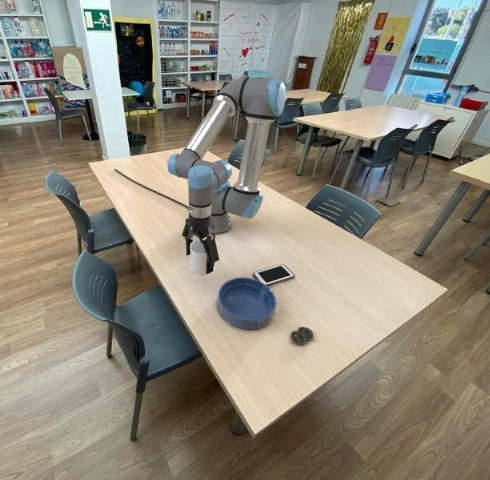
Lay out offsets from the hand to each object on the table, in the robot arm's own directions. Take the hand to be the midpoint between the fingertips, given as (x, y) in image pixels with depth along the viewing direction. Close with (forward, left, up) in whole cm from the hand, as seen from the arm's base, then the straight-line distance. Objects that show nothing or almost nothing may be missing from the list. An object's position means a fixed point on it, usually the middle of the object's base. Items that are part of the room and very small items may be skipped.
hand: (199, 262), depth 105 cm
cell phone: (+16, +25, -8) cm, 30 cm away
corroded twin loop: (+40, +11, -8) cm, 42 cm away
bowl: (+21, +5, -8) cm, 23 cm away
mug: (0, 0, -2) cm, 2 cm away
